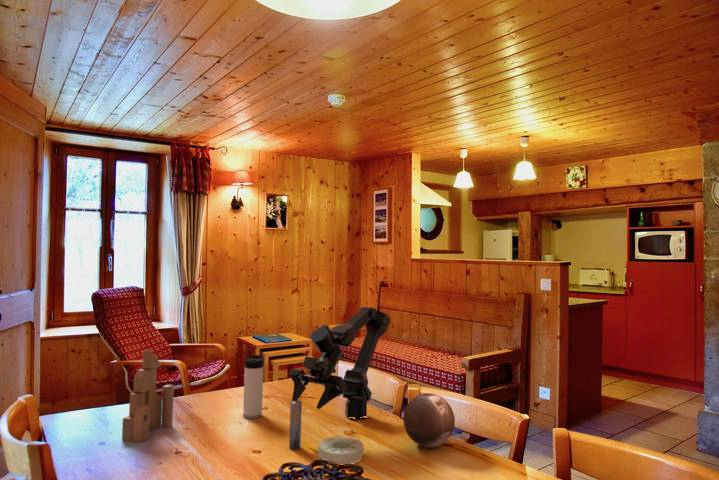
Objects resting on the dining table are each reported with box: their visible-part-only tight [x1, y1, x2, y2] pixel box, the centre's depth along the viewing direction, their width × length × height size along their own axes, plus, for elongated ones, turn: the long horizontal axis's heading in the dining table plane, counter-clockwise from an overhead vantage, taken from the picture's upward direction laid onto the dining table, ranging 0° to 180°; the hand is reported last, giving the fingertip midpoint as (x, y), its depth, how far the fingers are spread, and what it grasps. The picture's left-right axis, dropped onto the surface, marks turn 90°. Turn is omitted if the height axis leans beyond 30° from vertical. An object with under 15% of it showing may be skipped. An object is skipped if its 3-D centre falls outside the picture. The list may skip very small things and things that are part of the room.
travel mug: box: [242, 354, 265, 420], centre depth 165 cm, size 6×7×20 cm
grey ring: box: [318, 436, 365, 464], centre depth 133 cm, size 12×12×3 cm
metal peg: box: [288, 399, 303, 451], centre depth 138 cm, size 3×3×13 cm
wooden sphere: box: [402, 392, 456, 448], centre depth 143 cm, size 15×15×15 cm
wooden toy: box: [121, 349, 175, 443], centre depth 148 cm, size 15×7×25 cm, turn 166°
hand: (305, 405), depth 142 cm, fingers open, 9 cm apart
